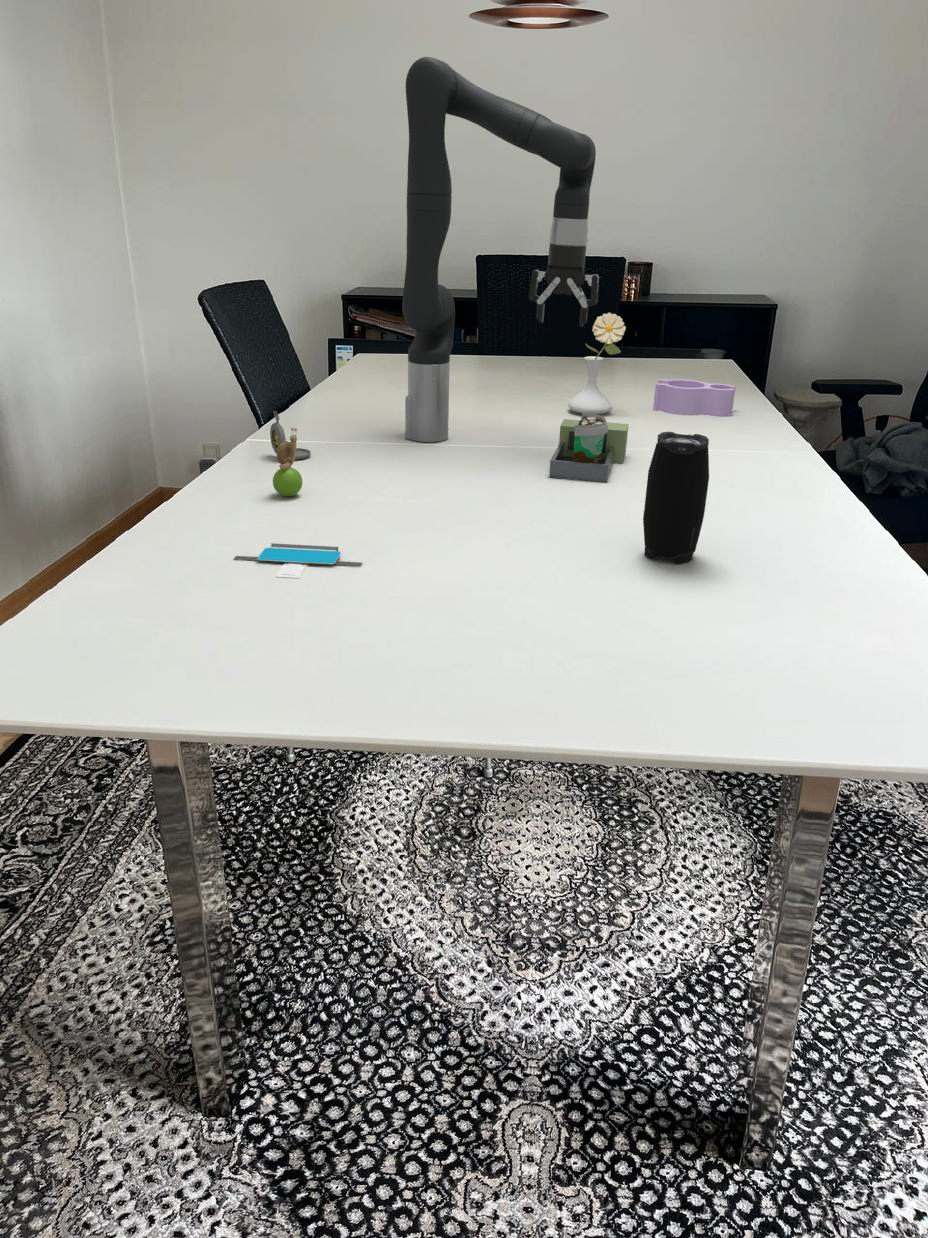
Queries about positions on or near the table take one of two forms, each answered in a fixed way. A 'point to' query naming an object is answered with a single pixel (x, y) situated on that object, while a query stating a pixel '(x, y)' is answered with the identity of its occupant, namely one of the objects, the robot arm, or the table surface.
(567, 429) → the pale green rectangular block
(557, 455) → the gray open tray
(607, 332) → the flower in vase
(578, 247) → the robot arm
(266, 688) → the table surface
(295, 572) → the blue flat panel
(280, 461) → the snail figurine
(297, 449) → the pocket watch
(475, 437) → the table surface
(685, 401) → the purple double cup holder
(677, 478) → the portable speaker
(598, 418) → the food container
